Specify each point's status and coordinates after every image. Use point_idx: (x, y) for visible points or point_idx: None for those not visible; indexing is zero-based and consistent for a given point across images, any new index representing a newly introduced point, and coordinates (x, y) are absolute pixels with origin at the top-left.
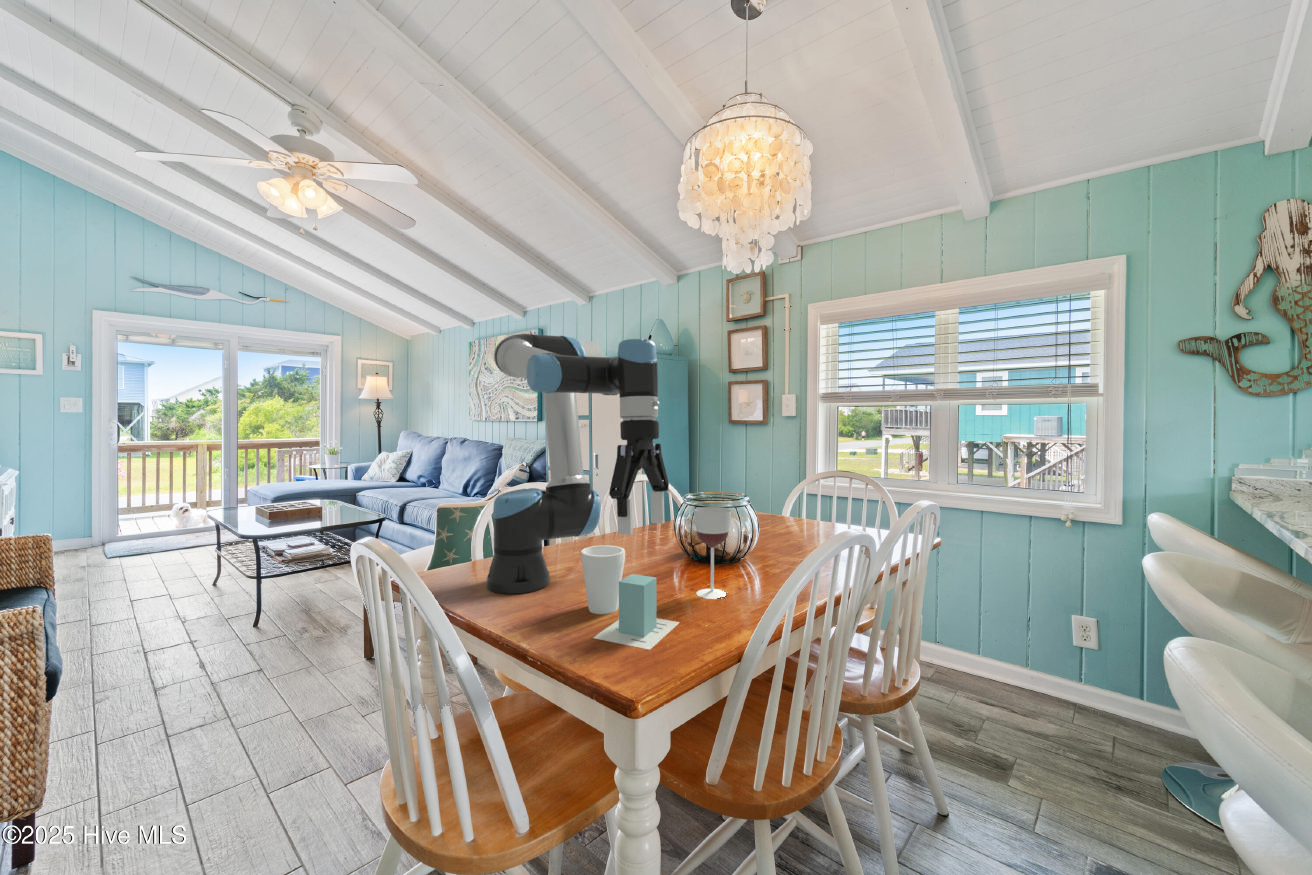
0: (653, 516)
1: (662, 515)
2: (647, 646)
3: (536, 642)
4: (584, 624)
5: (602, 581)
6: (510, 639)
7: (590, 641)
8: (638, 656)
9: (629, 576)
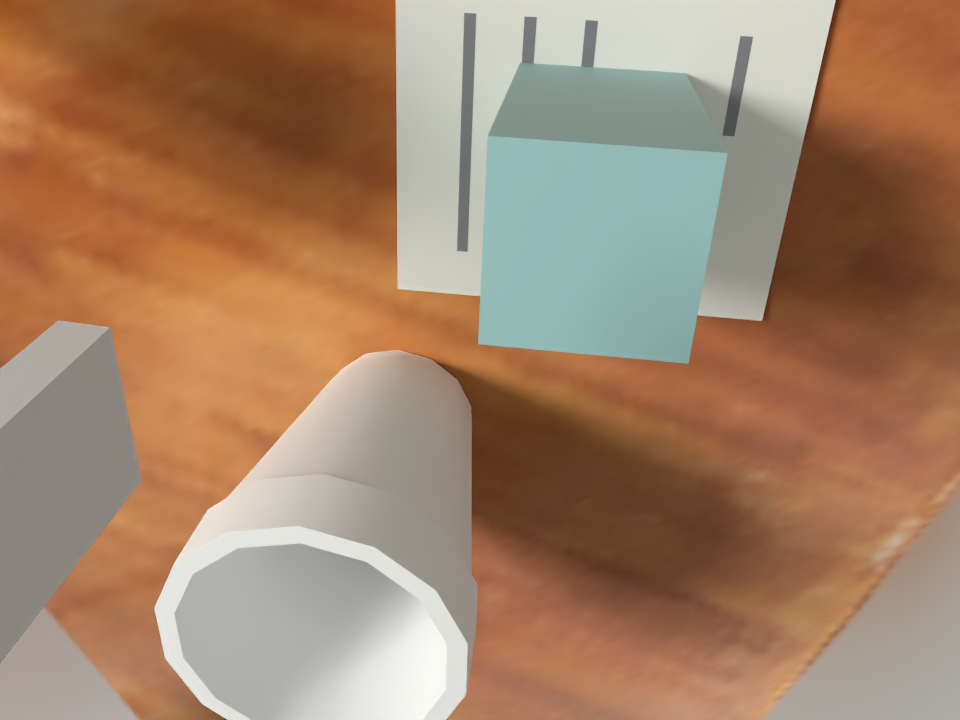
0: (82, 514)
1: (35, 400)
2: (802, 4)
3: (858, 513)
4: (605, 420)
5: (459, 496)
6: (850, 607)
7: (792, 316)
8: (927, 6)
9: (542, 338)
